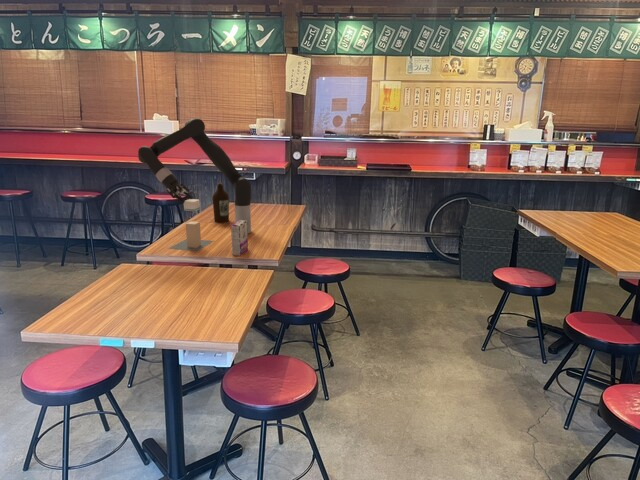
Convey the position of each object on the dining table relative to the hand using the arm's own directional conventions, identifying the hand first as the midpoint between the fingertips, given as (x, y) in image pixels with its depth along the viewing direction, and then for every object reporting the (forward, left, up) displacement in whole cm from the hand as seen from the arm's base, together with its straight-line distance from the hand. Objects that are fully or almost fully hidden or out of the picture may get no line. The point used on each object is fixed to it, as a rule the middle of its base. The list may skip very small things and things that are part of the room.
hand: (187, 201), depth 257 cm
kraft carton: (0, +2, -25) cm, 25 cm away
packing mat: (-2, 0, -26) cm, 26 cm away
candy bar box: (+1, +29, -26) cm, 39 cm away
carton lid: (0, +2, -5) cm, 5 cm away
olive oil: (-60, -10, -26) cm, 66 cm away
